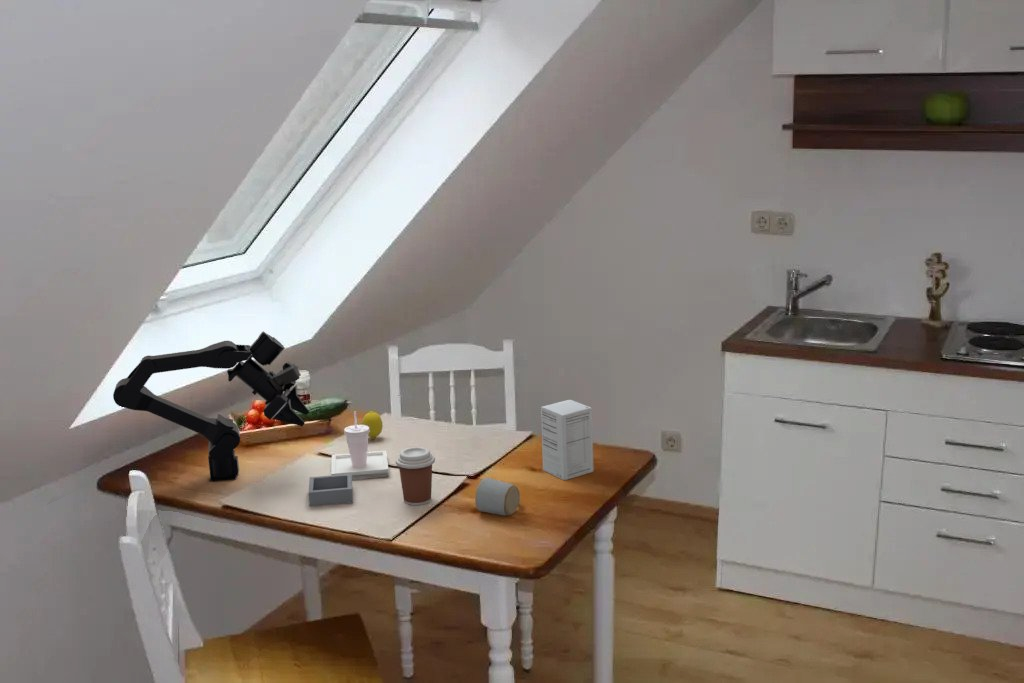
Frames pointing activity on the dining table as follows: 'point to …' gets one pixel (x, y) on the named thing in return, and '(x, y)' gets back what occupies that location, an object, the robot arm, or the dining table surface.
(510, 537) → the dining table surface
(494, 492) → the grey cylinder
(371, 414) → the lemon
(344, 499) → the holder
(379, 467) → the tray
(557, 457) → the supplement box
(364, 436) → the smoothie
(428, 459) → the coffee cup
